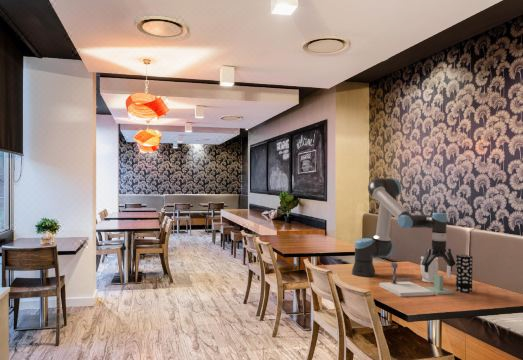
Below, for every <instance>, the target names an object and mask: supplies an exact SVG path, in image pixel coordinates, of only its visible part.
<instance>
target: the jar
mask: <svg viewBox="0 0 523 360" xmlns="http://www.w3.org/2000/svg"><path fill="white" fill-rule="evenodd" d="M424 257H425V255H421V256H420V259H421V260H420V266H419V267H420V275H421V277H422V279H421V281H422V282H425V283H432V284H434V274H438V272H439V262H438V261H439V257H436V258H434V260H433V261H432V262H431V264H430V265H429V267H430V279H428V278H426V272H425V266H424V265H422V264H421V263H422V261H423V259H424Z"/></svg>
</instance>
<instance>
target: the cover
mask: <svg viewBox="0 0 523 360" xmlns="http://www.w3.org/2000/svg"><path fill="white" fill-rule="evenodd" d="M424 288H426V289H429V290H431V291H434V295H437V296H438V295H454V291H453V290H451V289H447V288H445V287H444V275H443V274H438V273H437V274H434V283H433V286H424Z"/></svg>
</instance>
